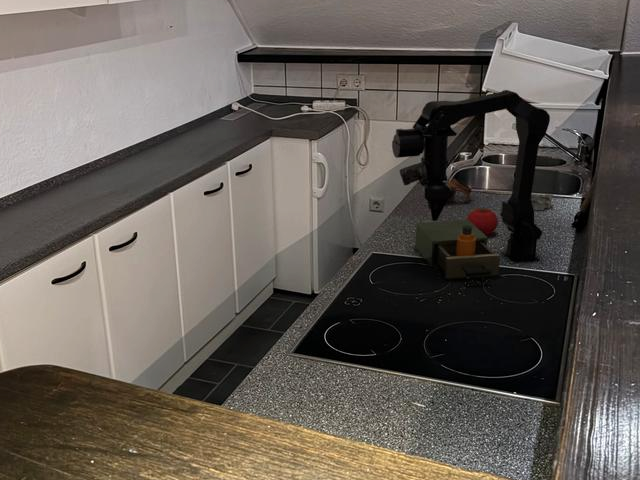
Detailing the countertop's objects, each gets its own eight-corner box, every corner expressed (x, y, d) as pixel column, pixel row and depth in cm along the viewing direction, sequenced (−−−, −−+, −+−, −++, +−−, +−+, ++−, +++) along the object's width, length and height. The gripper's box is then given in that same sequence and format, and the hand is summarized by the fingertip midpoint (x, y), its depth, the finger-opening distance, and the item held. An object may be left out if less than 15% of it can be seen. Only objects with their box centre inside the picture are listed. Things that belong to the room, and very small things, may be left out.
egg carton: (554, 207, 240) (555, 195, 238) (538, 212, 236) (539, 199, 234) (526, 199, 248) (527, 187, 247) (511, 203, 244) (512, 191, 243)
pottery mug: (440, 196, 255) (454, 176, 252) (463, 212, 252) (478, 191, 249) (430, 197, 244) (444, 175, 242) (454, 214, 241) (468, 192, 238)
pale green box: (485, 262, 199) (487, 237, 196) (431, 266, 197) (432, 241, 195) (466, 243, 212) (468, 219, 210) (415, 247, 211) (416, 222, 208)
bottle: (470, 260, 196) (473, 223, 192) (476, 266, 191) (479, 229, 188) (453, 261, 195) (455, 224, 191) (459, 268, 191) (461, 230, 187)
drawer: (505, 281, 185) (507, 261, 183) (451, 285, 184) (453, 265, 182) (479, 255, 201) (480, 236, 199) (429, 258, 200) (430, 239, 198)
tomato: (484, 227, 224) (486, 201, 222) (503, 236, 217) (505, 209, 214) (459, 231, 221) (460, 205, 218) (478, 241, 214) (479, 214, 211)
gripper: (399, 145, 196) (398, 203, 202) (404, 164, 179) (402, 227, 185) (443, 145, 195) (441, 203, 201) (452, 163, 178) (449, 227, 184)
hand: (432, 214), depth 193 cm, fingers open, 9 cm apart
